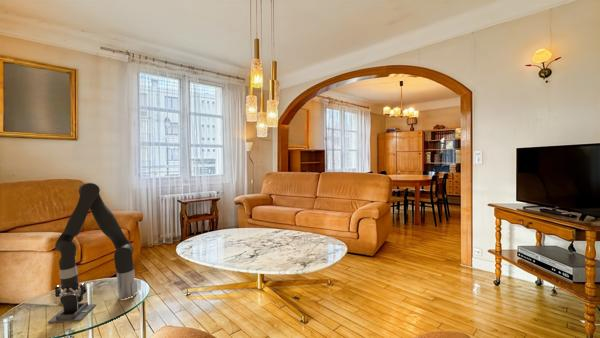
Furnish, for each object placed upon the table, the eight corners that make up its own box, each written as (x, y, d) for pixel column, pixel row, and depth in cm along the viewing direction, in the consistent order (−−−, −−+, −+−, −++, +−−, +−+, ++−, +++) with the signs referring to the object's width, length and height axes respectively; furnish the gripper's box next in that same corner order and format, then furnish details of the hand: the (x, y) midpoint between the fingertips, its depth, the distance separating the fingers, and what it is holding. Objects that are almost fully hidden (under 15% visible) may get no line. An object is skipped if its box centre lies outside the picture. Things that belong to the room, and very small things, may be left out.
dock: (95, 305, 166) (95, 300, 166) (80, 321, 152) (80, 315, 152) (66, 307, 164) (65, 302, 164) (47, 323, 150) (47, 318, 150)
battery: (81, 309, 160) (79, 291, 159) (77, 314, 157) (75, 294, 155) (67, 311, 159) (65, 292, 158) (63, 315, 156) (61, 296, 154)
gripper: (87, 270, 160) (90, 297, 162) (59, 272, 158) (62, 299, 160) (78, 277, 153) (81, 305, 155) (49, 279, 151) (53, 307, 153)
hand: (72, 302), depth 157 cm, fingers open, 8 cm apart
